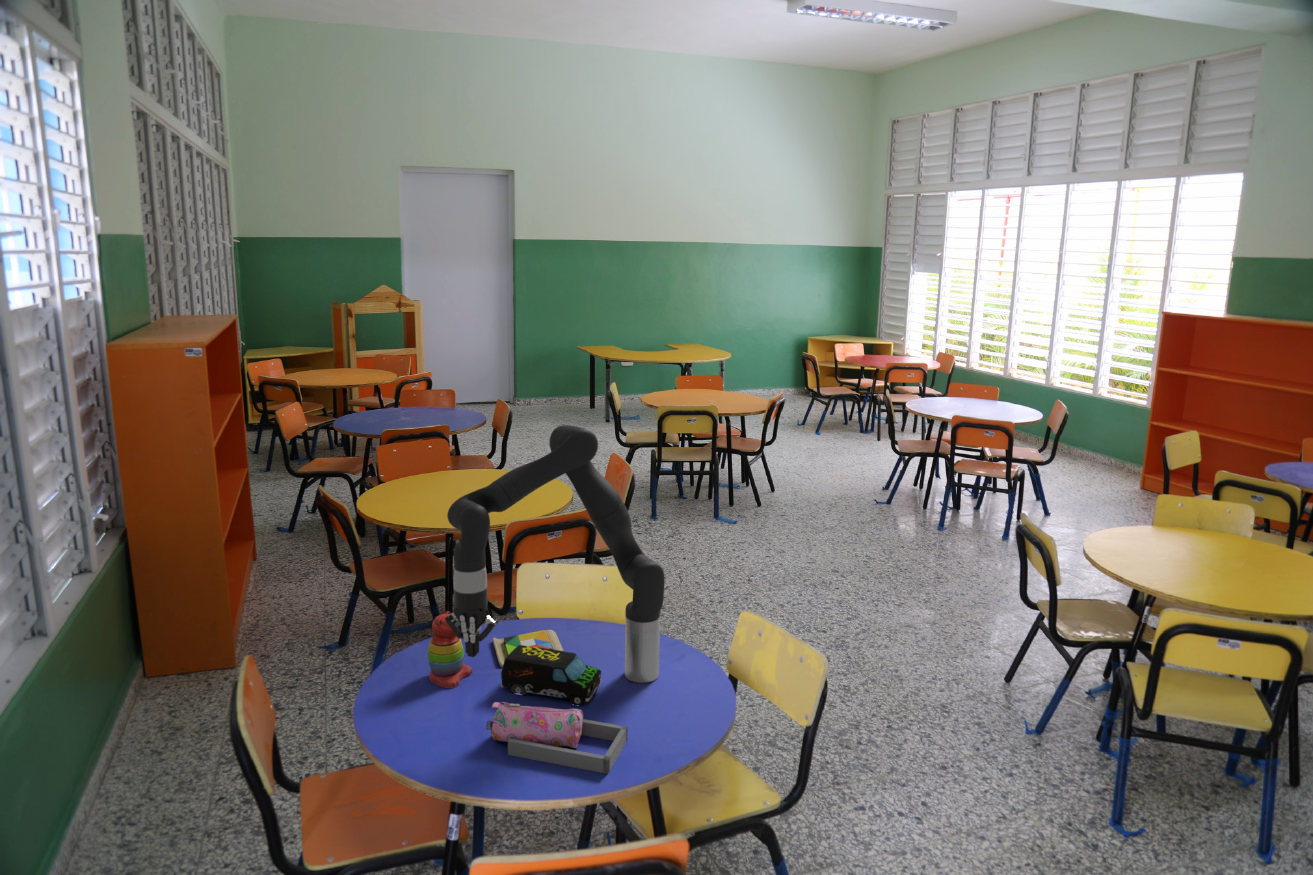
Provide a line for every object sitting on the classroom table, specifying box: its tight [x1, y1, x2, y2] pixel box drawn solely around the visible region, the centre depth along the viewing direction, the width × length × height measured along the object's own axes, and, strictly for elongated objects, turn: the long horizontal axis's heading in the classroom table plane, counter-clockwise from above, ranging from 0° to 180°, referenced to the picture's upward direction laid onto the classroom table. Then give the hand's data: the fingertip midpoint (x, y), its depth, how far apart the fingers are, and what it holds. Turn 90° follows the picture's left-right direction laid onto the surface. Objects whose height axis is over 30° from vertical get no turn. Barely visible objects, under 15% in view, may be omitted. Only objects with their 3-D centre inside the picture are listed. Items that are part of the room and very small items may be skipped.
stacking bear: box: [427, 610, 473, 689], centre depth 225 cm, size 11×10×18 cm
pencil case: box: [485, 701, 584, 749], centre depth 197 cm, size 21×9×9 cm, turn 80°
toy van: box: [500, 645, 602, 707], centre depth 220 cm, size 11×25×10 cm, turn 74°
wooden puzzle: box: [492, 629, 564, 668], centre depth 243 cm, size 18×19×4 cm
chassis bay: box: [507, 718, 628, 775], centre depth 196 cm, size 14×24×4 cm, turn 74°
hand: (472, 655), depth 198 cm, fingers closed
